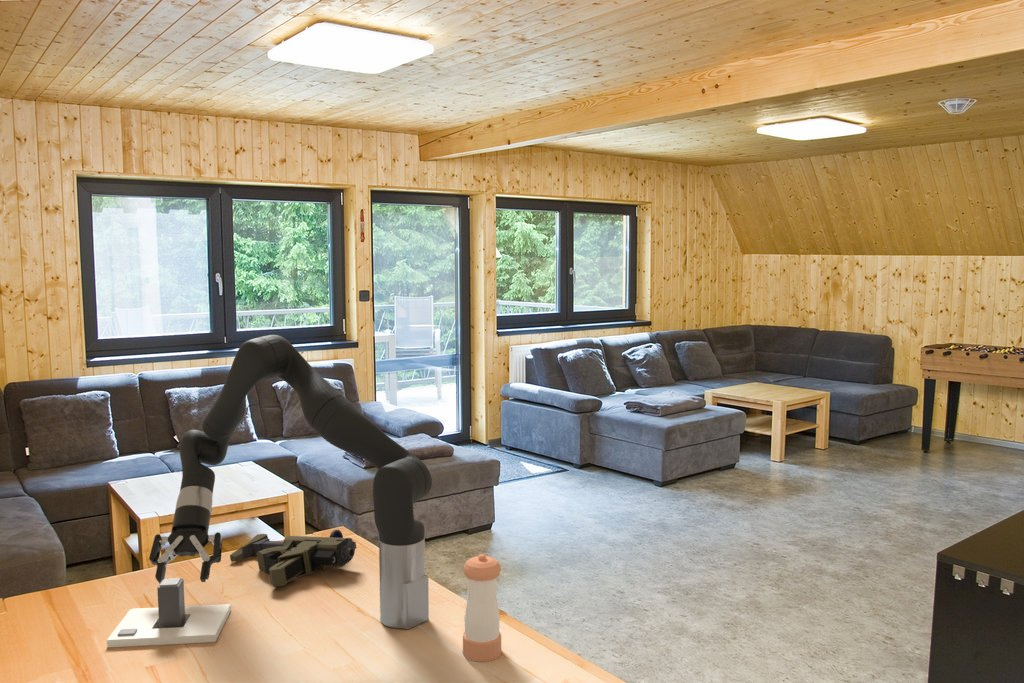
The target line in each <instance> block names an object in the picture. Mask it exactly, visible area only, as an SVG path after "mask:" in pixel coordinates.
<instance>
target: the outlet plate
mask: <svg viewBox="0 0 1024 683" xmlns="http://www.w3.org/2000/svg"><path fill="white" fill-rule="evenodd" d="M231 609H232V607H231V603H227V604H226V603H225V604H205V605H204V604H201V605H187V606H186V605H185V625H184V627H177V628H159V612H158V606H157V607H142V608H141V607H139V608H138V607H137V608H130V609H129V610H128V612H127V613H126V615H125V616H124V617H123V618H122V619H121V621H120V622H119V624H118V625H117V626H116V627H115V629H114V630H113V631H112V633H111V634H110V635H109V636H108V638H107V639H106V648H107V647H108V648H124V647H143V646H147V647H148V646H164V645H185V644H201V643H216V642H217V640H218V638H219V636H220V633H221V632H222V630H223V628H224V626H225V624H226V622H227V620H228V618H229V615H230V613H231V611H232V610H231Z"/></svg>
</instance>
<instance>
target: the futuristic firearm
mask: <svg viewBox="0 0 1024 683" xmlns="http://www.w3.org/2000/svg"><path fill="white" fill-rule="evenodd" d="M357 548H358V547H357V543H356V541H354V540H353V539H352V538H351V537H344V536H343V532H342V531H341V530H340V529H334V530H332V531H331V532H330V535H329V537H327V536H308V535H307V536H305V535H304V536H303V535H287V536H286V537H285V538H284V539H283V541H282V540H270V538H269V537H268V534H267V533H258V534H256V535H255V536H254V537H252V538H251V539H250V540H249V541H248V542H247V543H246V544H244V545H243V546H241V547H239V548H237V550H235V551H234V552H232V553H231V554H230V555H229V558H230V562H231V563H232V562H237V561H241V560H242V561H243V560H245V558H248V557H251V556H256V559H257V565H258V570H259V572H260V571H261V572H262V573H263V574H268V575H270V581H271V582H270V583H271V585H272V586H273V587H274V588H277V587H281V586H285V585H288V583H289V582H291V581H292V580H293V579H296V578H301V577H304V576H309V575H311V574H313V573H314V572H315V571H316V570H318V569H319V568H320V567H322V569H323V568H324V567H338V568H339V567H344V566H345V565H346V564H348V563H349V562H351V561H352V560H353V558H354V557H355V553H356V549H357ZM324 569H325V568H324Z"/></svg>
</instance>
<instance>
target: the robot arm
mask: <svg viewBox="0 0 1024 683" xmlns="http://www.w3.org/2000/svg"><path fill="white" fill-rule="evenodd" d="M276 377H278V378H280V379H281V380H283V381H284V382H285V383H287V385H288V386H290V387H291V389H293V390H294V391H295V392H296V394H297V396H298V398H299V402H300V406H301V410H302V411H301V412H302V413H303V417H304V418H305V420H306V422H307V423H308V425H309V426H310V427H311V428H312V429H313V430H314V431H315V432H316V433H317V434H319V435H320V437H322V438H323V439H324V440H325V441H326V442H327V443H329V444H330V445H331V446H334V447H336V448H338V449H340V450H341V451H344V452H347V453H349V454H352V455H354V456H357V457H358V458H360V459H364V460H365V461H367V462H368V463H370V464H371V465H373V466H374V467H375V468H376V469H378V470H377V471H376V472H375V474H374V478H373V482H372V498H373V501H372V502H373V515H374V516H373V517H374V524H375V527H376V529H377V531H378V543H379V544H378V545H379V546H378V548H379V550H378V553H379V554H378V556H379V560H378V562H379V614H380V616H379V618H380V619H379V620H380V622H381V623H382V624H383V625H384V626H386V627H389V628H392V629H394V628H395V629H404V630H410V629H412V628H414V627H415V626H419V625H420V624H422V623H425V622H427V621H429V620H430V619H429V617H430V616H429V614H430V613H429V612H430V610H429V609H430V608H429V606H430V604H429V603H430V602H429V590H430V588H429V575H427V574H426V572H425V571H426V562H425V560H426V559H425V556H426V555H425V554H426V553H425V551H426V550H425V547H426V546H425V542H426V540H425V537H426V536H425V531H426V530H425V525H424V523H423V522H422V521H421V520H419V519H418V518H417V519H416V518H415V515H414V503H416V502H418V501H420V500H421V499H423V498H425V497H427V495H428V494H429V493H430V491H431V489H432V488H433V487H432V486H433V478H432V475H431V472H430V470H429V468H428V466H427V465H426V464H425V463H424V462H423V461H422V460H421V459H420V458H418V457H417V456H416V455H414V454H413V453H412V452H410V451H409V450H407V449H406V448H405V447H403V445H400V443H398V442H396V441H395V440H393V438H391V437H390V436H389V435H387V434H386V433H385V432H384V431H383V430H382V429H381V428H380V427H378V426H377V425H376V424H375V423H374V422H373V421H371V419H369V418H368V417H367V416H366V415H364V414H363V413H362V412H361V410H359V409H358V408H357V407H356V406H355V405H354V404H353V403H352V402H351V401H350V400H349V399H347V398H346V397H345V395H343V394H342V393H340V392H339V391H338V390H337V389H336V388H334V386H332V385H331V384H330V383H329V382H328V381H327V380H326V379H325V378H324V377H323V376H322V375H321V374H320V373H318V371H316V370H315V369H314V368H313V367H312V365H311V364H310V363H309V362H308V361H307V360H306V359H305V358H304V357H303V355H302V354H301V353H300V352H299V350H298V349H297V348H296V347H295V346H293V344H292V343H291V342H290V341H289V340H287V339H286V338H285V337H283V336H281V335H278V334H269V335H268V334H267V335H263V336H259V337H256V338H251V339H248V340H246V341H244V342H243V343H241V345H240V347H239V348H238V349H237V352H236V354H235V356H234V359H233V361H232V364H231V366H230V369H229V371H228V375H227V376H226V379H225V382H224V384H223V387H222V389H221V391H220V393H219V395H218V397H217V398H216V401H215V402H214V404H213V405H212V407H211V408H210V410H209V411H207V412H208V413H207V415H206V416H205V417H204V419H203V421H202V424H201V427H202V428H201V429H202V430H199V429H189V430H188V431H186V432H185V433H184V434H183V435H182V436H181V439H180V441H179V458H180V462H181V473H182V474H181V475H182V476H181V484H180V488H179V494H178V496H177V500H176V504H175V511H174V516H173V521H172V527H171V533H170V534H169V536H161V535H160V534H159V533H157V534H155V535H154V538H153V542H152V546H151V548H150V549H151V550H150V554H149V559H148V560H149V561H150V563H151V564H152V565H153V566H156V570H155V575H154V576H155V579H156V581H157V582H158V583H159V584H160V583H161V581H162V580H164V579H166V578H165V576H166V571H167V565H168V564H169V563H170V562H171V561H173V560H175V558H177V556H179V557H180V558H181V557H186V556H190V557H195V556H196V555H198V556H199V557H200V558H201V559H202V562H201V570H200V575H199V580H200V582H201V583H206V581H207V580H208V579H209V578H210V572H211V566H213V564H215V563H217V564H218V563H220V562H221V561H222V553H223V552H222V549H223V536H222V535H221V533H220V532H216V533H214V534H209V529H210V523H211V514H212V512H213V494H214V487H215V481H216V474H215V472H214V470H213V469H211V468H210V467H208V466H217V465H219V464H221V463H222V462H224V460H225V458H226V457H227V454H228V449H229V442H230V440H231V437H232V435H233V433H234V432H235V430H236V428H237V427H238V426H239V424H240V423H241V421H242V420H243V418H244V416H245V413H246V411H247V410H246V409H247V399H246V398H247V395H248V394H249V392H250V391H251V390H252V389H253V387H255V386H256V385H257V384H258V383H259V382H261V381H266V380H269V379H272V378H273V379H274V378H276ZM206 465H208V466H206ZM209 542H211V545H213V550H212V552H213V553H212V555H209V554H208V553H207V551H206V550H205V547H206V546H207V545H208V543H209ZM167 543H168V544H169V546H168V547H167V548H166V549H165V551H164V552H163V553H162V555H161V551H162V548H164V547H165V546H166V544H167ZM159 584H158V585H159Z"/></svg>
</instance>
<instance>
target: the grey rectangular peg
mask: <svg viewBox="0 0 1024 683" xmlns="http://www.w3.org/2000/svg"><path fill="white" fill-rule="evenodd" d="M184 580H185V579H184V578H182V577H173V578H164V580H162V581H161V583H160V584H158V586H157V589H156V590H157V607H158V612H159V626H158V628H177V627H184V625H185V623H186V621H185V606H186V605H185V588H184V587H185V586H184V585H185V581H184Z"/></svg>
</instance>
